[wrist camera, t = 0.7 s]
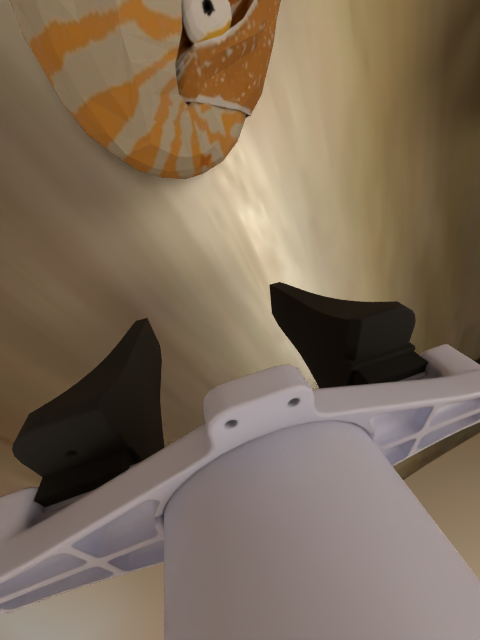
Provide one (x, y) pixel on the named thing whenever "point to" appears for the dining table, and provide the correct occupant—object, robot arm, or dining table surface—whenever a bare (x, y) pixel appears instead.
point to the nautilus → (155, 73)
